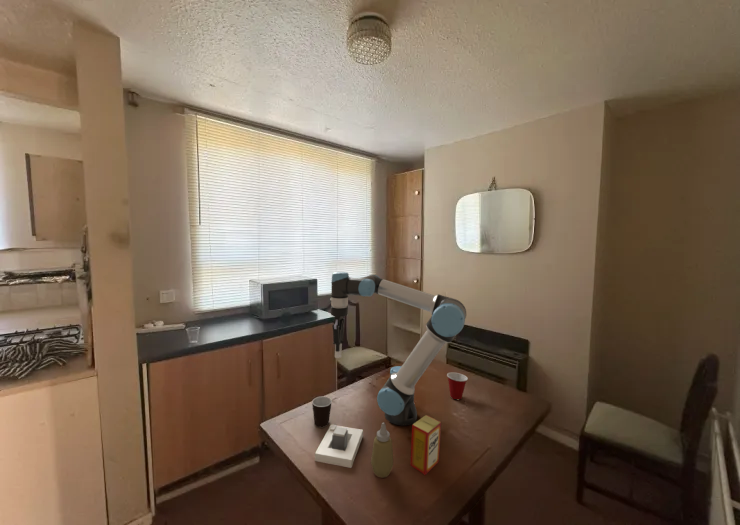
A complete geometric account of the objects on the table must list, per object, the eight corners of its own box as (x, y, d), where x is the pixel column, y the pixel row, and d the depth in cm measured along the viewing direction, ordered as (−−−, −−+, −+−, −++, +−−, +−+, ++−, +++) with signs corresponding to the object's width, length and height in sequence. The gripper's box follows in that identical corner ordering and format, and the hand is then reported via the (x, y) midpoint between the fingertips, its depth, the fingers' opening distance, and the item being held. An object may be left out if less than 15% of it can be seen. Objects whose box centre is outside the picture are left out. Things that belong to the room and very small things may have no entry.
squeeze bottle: (369, 463, 112) (371, 417, 110) (391, 463, 112) (393, 416, 111) (371, 481, 104) (373, 431, 102) (394, 480, 104) (396, 430, 103)
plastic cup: (470, 397, 162) (471, 376, 161) (460, 405, 154) (461, 382, 153) (452, 390, 169) (453, 369, 168) (441, 396, 162) (442, 375, 161)
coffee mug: (327, 430, 130) (328, 408, 130) (308, 427, 132) (309, 405, 131) (335, 415, 142) (336, 394, 141) (318, 412, 143) (318, 392, 143)
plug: (347, 444, 121) (348, 428, 121) (344, 452, 117) (344, 435, 116) (335, 442, 122) (336, 426, 122) (331, 450, 118) (332, 433, 117)
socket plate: (362, 436, 127) (362, 427, 127) (351, 467, 109) (351, 458, 109) (330, 431, 130) (331, 422, 129) (314, 460, 112) (315, 451, 112)
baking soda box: (425, 475, 107) (427, 432, 106) (410, 465, 112) (412, 424, 110) (439, 461, 114) (441, 420, 113) (424, 452, 119) (426, 413, 117)
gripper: (335, 302, 143) (334, 351, 145) (326, 309, 130) (325, 362, 132) (350, 303, 142) (349, 352, 144) (343, 310, 129) (342, 363, 131)
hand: (338, 357), depth 138 cm, fingers closed
